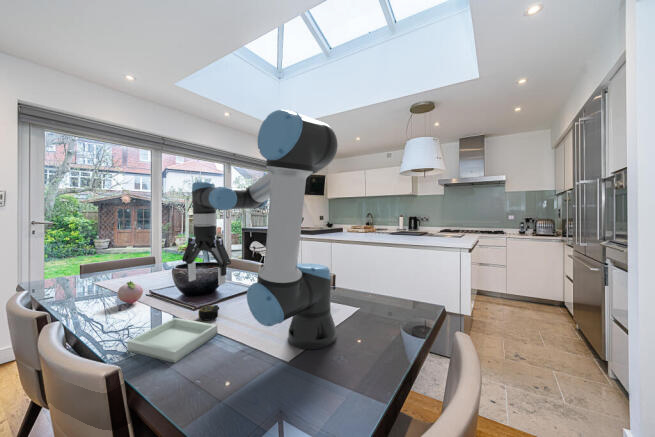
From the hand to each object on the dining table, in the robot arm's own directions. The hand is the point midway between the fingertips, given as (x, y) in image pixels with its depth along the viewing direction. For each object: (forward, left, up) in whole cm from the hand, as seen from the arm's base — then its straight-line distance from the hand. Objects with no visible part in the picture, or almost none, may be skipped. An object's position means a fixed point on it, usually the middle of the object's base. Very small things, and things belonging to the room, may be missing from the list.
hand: (206, 282), depth 97 cm
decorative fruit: (+41, 0, -14) cm, 43 cm away
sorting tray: (-3, +17, -13) cm, 22 cm away
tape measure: (-1, 0, -14) cm, 14 cm away
